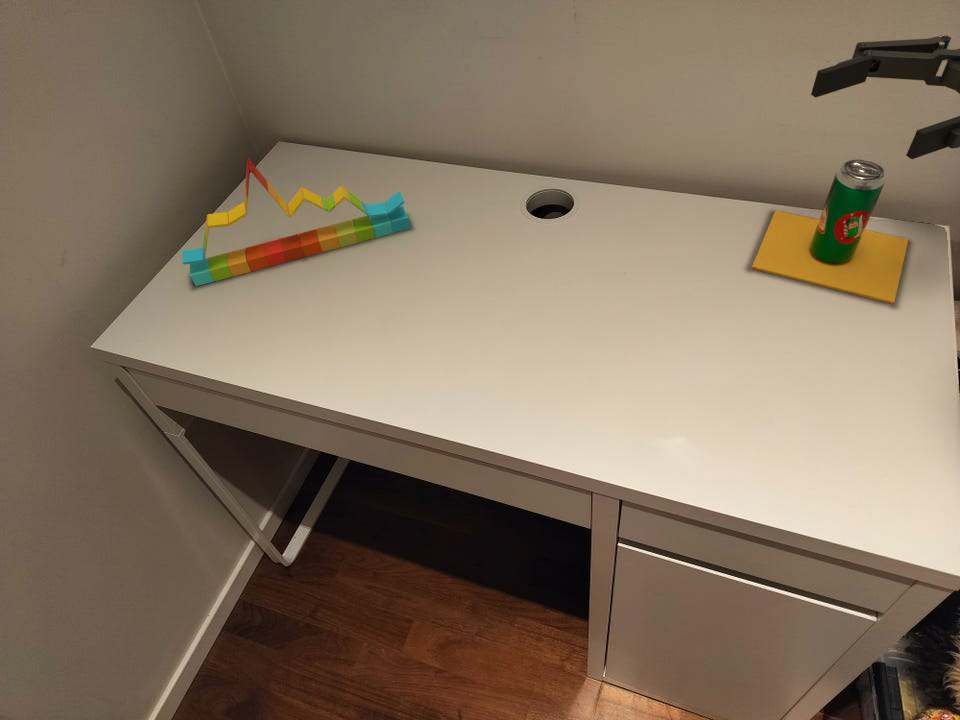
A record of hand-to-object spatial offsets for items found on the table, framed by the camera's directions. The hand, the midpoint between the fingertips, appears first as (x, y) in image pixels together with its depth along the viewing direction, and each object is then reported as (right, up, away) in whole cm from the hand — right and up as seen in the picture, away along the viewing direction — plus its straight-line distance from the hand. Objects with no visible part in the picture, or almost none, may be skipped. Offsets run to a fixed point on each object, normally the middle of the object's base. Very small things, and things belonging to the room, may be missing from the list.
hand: (862, 112), depth 68 cm
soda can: (+5, -12, +16) cm, 20 cm away
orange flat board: (+5, -12, +16) cm, 21 cm away
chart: (-63, -10, +27) cm, 70 cm away
